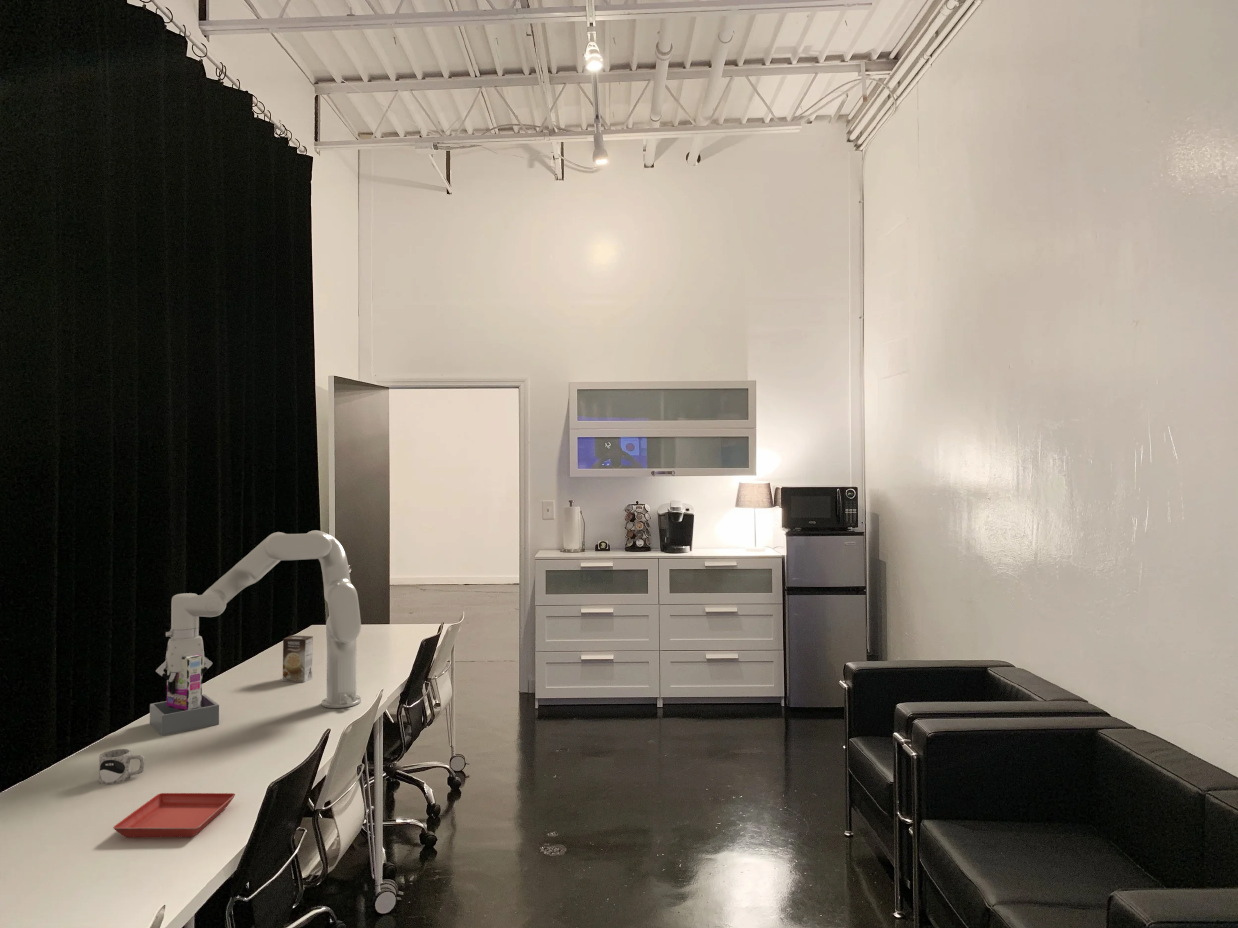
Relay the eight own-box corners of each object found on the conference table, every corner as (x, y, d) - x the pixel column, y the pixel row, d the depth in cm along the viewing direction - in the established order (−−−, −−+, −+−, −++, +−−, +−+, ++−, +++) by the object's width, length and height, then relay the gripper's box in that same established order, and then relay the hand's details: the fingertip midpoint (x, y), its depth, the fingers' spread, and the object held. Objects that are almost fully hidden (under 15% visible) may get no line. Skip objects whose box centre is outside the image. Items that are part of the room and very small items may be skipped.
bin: (218, 724, 240) (219, 704, 240) (161, 735, 229) (162, 715, 230) (204, 712, 252) (204, 694, 252) (149, 723, 241) (149, 703, 241)
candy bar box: (203, 707, 240) (203, 654, 240) (187, 712, 236) (187, 658, 236) (181, 702, 245) (181, 650, 246) (165, 706, 241) (166, 654, 241)
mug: (94, 785, 193) (95, 759, 193) (104, 775, 200) (105, 749, 200) (140, 781, 196) (140, 755, 196) (148, 771, 202) (148, 746, 202)
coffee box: (281, 681, 289) (281, 638, 289) (290, 677, 295) (290, 635, 295) (304, 682, 288) (305, 639, 288) (313, 677, 294) (313, 635, 294)
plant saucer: (236, 805, 183) (236, 791, 183) (197, 842, 164) (197, 826, 165) (159, 806, 182) (159, 792, 182) (110, 843, 164) (111, 827, 164)
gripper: (156, 639, 232) (155, 699, 232) (218, 631, 244) (218, 688, 244) (150, 635, 238) (149, 694, 237) (211, 628, 249) (211, 683, 249)
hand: (184, 690), depth 241 cm, fingers closed on candy bar box, 6 cm apart
